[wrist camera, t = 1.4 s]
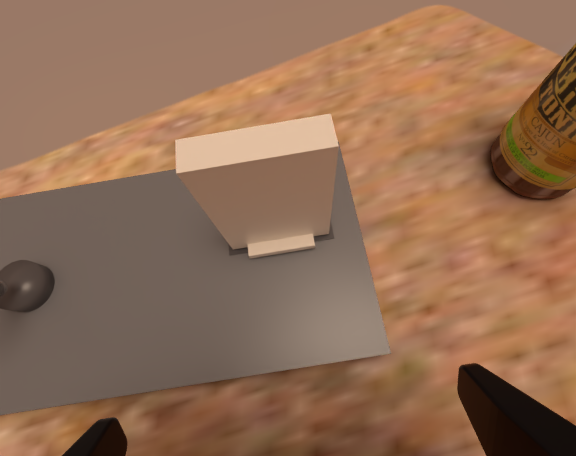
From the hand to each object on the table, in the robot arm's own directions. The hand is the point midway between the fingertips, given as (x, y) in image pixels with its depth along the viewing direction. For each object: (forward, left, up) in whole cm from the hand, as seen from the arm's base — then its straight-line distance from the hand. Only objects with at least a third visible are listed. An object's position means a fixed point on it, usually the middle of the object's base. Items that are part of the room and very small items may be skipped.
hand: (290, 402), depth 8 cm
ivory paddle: (+4, +8, -10) cm, 13 cm away
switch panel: (-3, +11, -12) cm, 17 cm away
